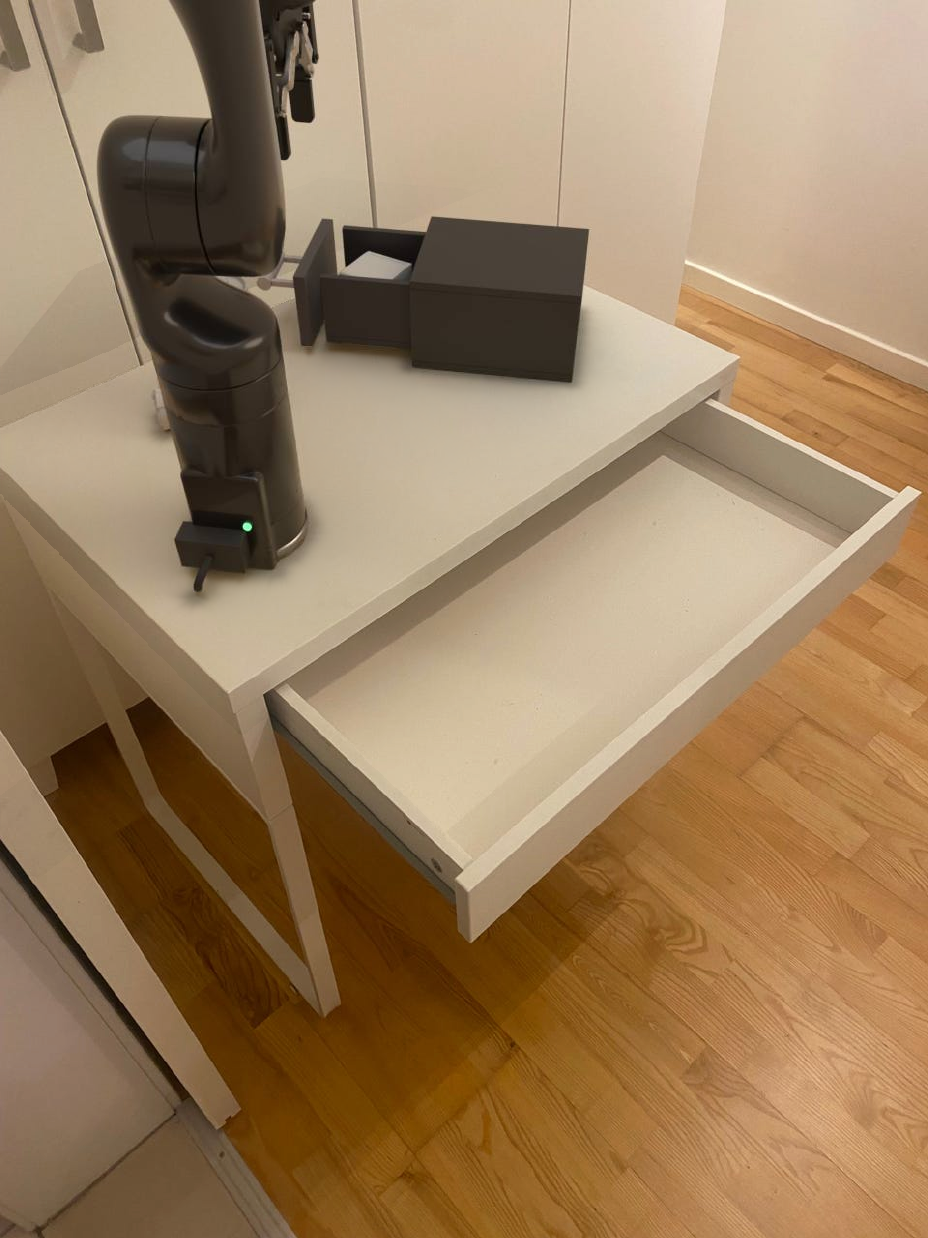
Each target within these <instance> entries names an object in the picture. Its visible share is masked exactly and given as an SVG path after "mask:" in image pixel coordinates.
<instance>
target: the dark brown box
mask: <svg viewBox="0 0 928 1238" xmlns="http://www.w3.org/2000/svg"><path fill="white" fill-rule="evenodd" d="M425 232H426V234H425V237H424V240H423V243H422V246H421V249H420V252H419V254H418V257H417V260H416V263H415V266H414V269H413V272H412V275H411V278H410V281H409V288H410V289H409V293H410V329H411V350H410V355H411V356H410V360H411V361H410V363H411V368H415V369H426V370H437V371H449V372H458V373H469V374H481V375H489V376H490V375H492V376H503V377H511V378H512V377H513V378H524V379H533V380H534V379H535V380H545V381H546V380H547V381H554V382H555V381H556V382H568V383H572V382H573V379H574V378H573V377H574V369H575V361H576V360H575V359H576V352H577V345H578V343H577V342H578V333H579V326H580V317H581V310H582V300H583V292H584V282H585V272H586V264H587V254H588V244H589V236H590V228H583V227H582V228H580V227H568V226H558V225H546V224H533V223H532V224H531V223H521V222H509V221H507V222H506V221H496V220H485V219H484V220H483V219H482V220H481V219H471V218H459V217H458V218H457V217H445V216H435V215H432V216H431V217H430V220H429V223H428V225H427V228H426V231H425Z"/></svg>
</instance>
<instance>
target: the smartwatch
mask: <svg viewBox="0 0 928 1238" xmlns="http://www.w3.org/2000/svg"><path fill="white" fill-rule="evenodd" d="M151 399H152V400H153V404H154V407H155V411H156V412H157V415H156V416H157V420H158V423H159V425H160V426H161V427H162V429H163V430H167V431H168V430H171V429H170V425H169V422H168V418H167V414H166V410H165V406H164V402H163V398H162V394H161V390H160V387H155V388H154V389H153V390H152V392H151Z"/></svg>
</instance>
